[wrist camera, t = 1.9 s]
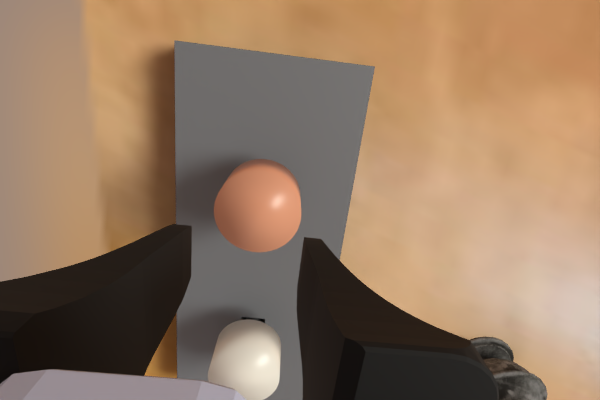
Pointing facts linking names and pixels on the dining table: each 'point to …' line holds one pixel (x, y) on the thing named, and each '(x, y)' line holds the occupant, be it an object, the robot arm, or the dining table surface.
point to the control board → (248, 146)
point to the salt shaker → (509, 371)
